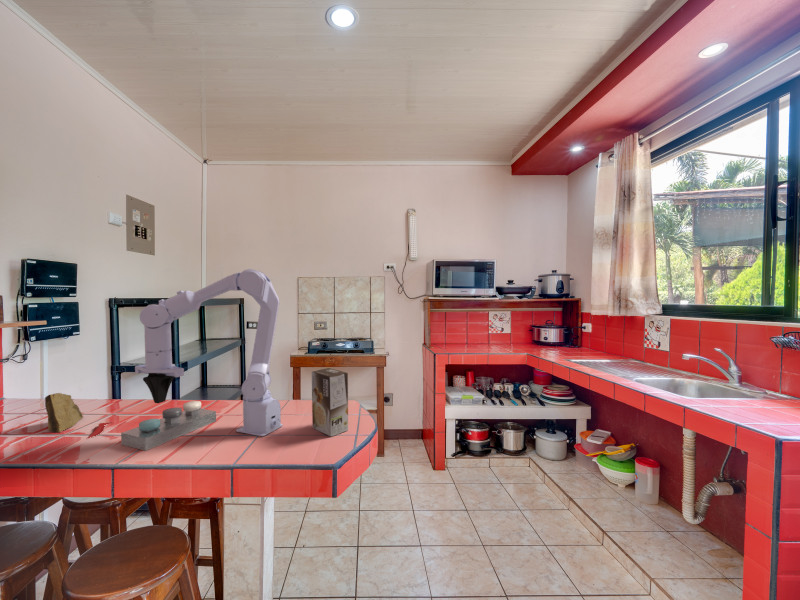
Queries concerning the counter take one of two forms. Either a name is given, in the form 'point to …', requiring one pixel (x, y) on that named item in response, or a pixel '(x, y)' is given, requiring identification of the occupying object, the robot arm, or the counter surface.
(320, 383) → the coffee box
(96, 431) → the cayenne pepper
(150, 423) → the button teal
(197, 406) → the button ivory
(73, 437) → the counter surface
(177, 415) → the button charcoal
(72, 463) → the counter surface
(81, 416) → the rock
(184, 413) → the panel
